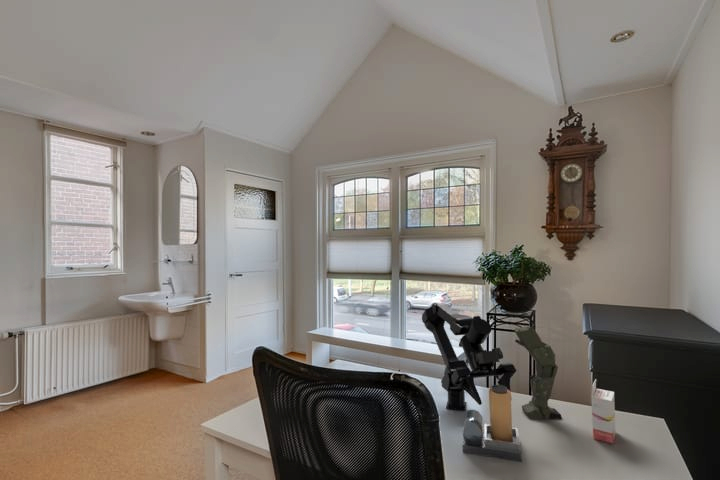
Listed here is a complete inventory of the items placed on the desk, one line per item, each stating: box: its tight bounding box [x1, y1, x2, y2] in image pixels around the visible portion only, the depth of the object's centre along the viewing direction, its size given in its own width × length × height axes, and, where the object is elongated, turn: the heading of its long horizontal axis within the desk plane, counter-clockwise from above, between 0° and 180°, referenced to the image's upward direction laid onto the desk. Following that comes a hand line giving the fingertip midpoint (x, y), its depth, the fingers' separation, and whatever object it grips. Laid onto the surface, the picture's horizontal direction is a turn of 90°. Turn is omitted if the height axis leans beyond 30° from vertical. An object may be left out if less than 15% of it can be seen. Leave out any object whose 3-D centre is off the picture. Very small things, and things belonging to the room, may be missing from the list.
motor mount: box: [462, 409, 522, 463], centre depth 98 cm, size 12×14×7 cm
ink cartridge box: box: [591, 378, 617, 444], centre depth 102 cm, size 9×5×15 cm, turn 141°
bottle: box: [488, 384, 513, 442], centre depth 97 cm, size 6×6×14 cm
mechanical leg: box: [513, 325, 563, 420], centre depth 116 cm, size 14×7×30 cm, turn 85°
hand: (495, 402), depth 99 cm, fingers open, 9 cm apart
